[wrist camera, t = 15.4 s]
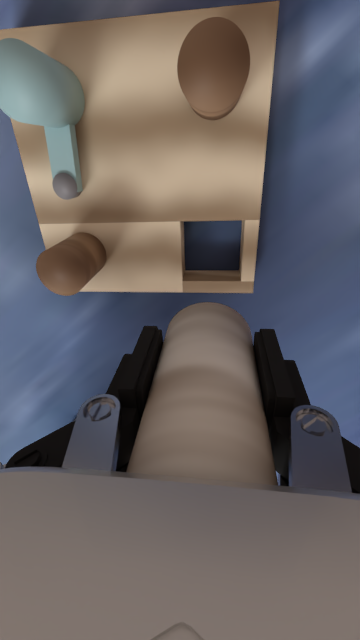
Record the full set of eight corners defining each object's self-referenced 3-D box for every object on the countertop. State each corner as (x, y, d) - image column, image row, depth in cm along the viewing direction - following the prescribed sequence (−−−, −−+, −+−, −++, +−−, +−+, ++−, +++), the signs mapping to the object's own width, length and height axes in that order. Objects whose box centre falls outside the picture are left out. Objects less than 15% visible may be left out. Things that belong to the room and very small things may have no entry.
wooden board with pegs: (249, 281, 31) (259, 320, 23) (69, 280, 33) (28, 315, 26) (271, 19, 21) (300, -51, 14) (12, 44, 23) (-80, -4, 16)
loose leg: (248, 374, 14) (282, 629, 7) (168, 371, 15) (115, 605, 7) (254, 302, 13) (314, 547, 5) (163, 301, 13) (82, 521, 5)
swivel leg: (94, 199, 25) (69, 208, 21) (50, 196, 25) (16, 205, 21) (80, 62, 21) (44, 38, 16) (27, 61, 21) (-23, 37, 17)
